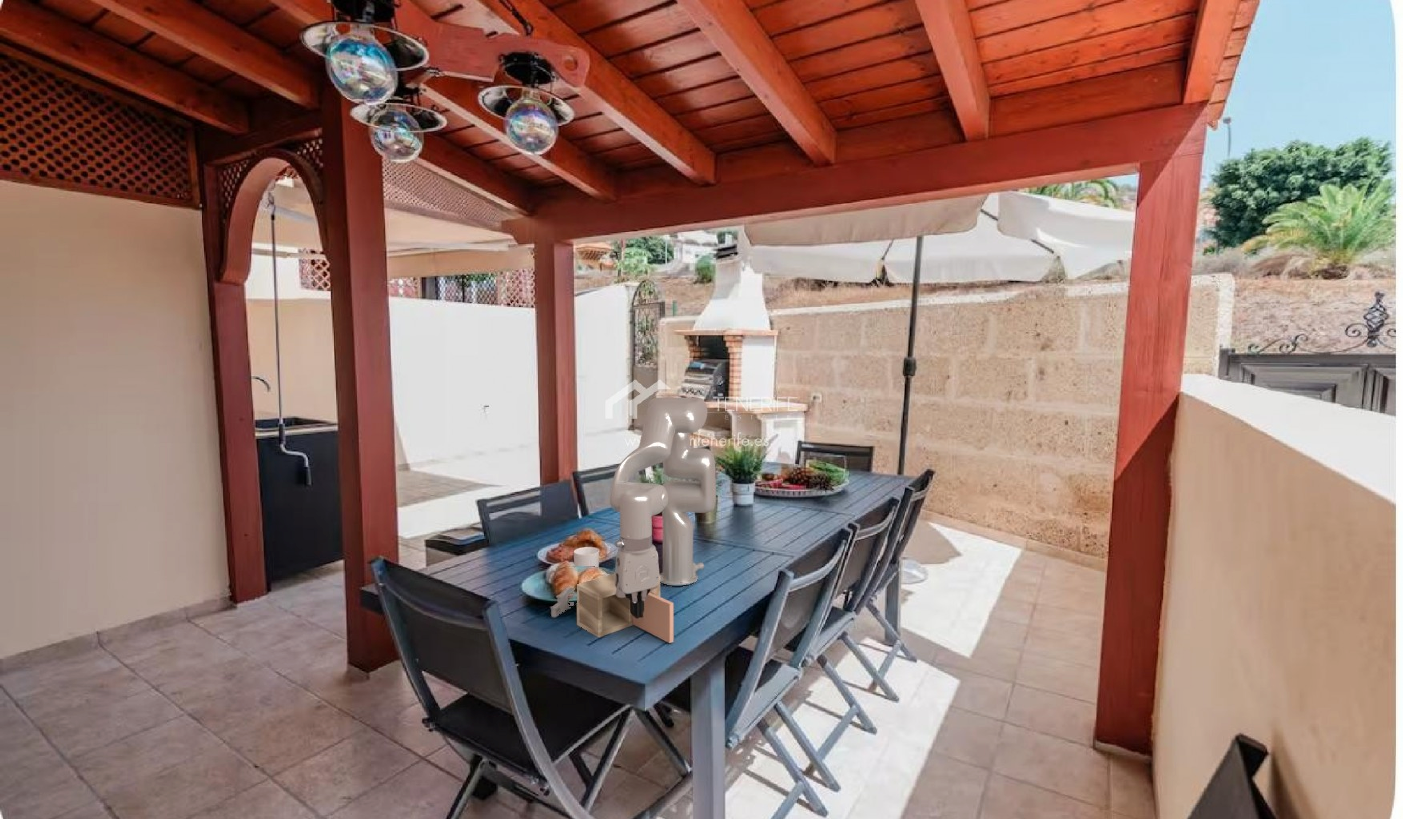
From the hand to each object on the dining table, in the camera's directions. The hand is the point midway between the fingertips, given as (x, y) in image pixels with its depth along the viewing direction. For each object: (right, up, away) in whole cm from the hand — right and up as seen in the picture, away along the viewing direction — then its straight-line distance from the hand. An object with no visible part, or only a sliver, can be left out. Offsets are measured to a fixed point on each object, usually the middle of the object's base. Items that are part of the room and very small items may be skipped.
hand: (637, 615), depth 151 cm
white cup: (-20, -4, +44) cm, 49 cm away
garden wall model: (-22, -6, +23) cm, 33 cm away
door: (+3, -7, +8) cm, 11 cm away
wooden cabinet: (-6, -7, +16) cm, 19 cm away
